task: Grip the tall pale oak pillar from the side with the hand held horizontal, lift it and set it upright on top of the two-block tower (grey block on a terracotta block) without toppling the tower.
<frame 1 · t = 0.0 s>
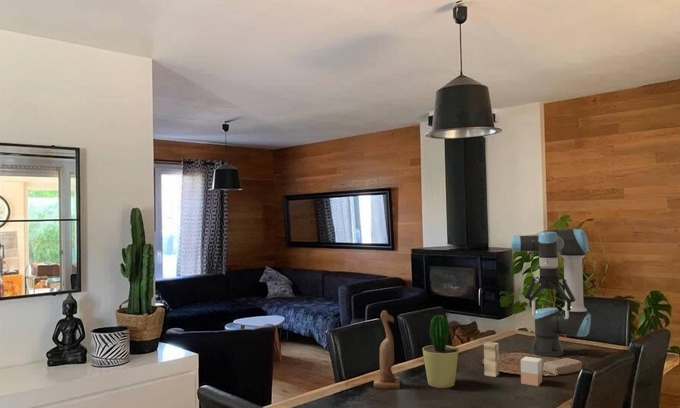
hand: (550, 316, 222), 28 cm above the table, tool pointing down, fingers open, 13 cm apart
bird sculpture: (386, 385, 221), on the table
tower base: (531, 382, 221), on the table, touching tower top
tower top: (531, 371, 221), point 5 cm above the table, touching tower base
potted cactus: (441, 384, 222), on the table
brick: (562, 372, 237), on the table
oak pillar: (491, 374, 233), on the table
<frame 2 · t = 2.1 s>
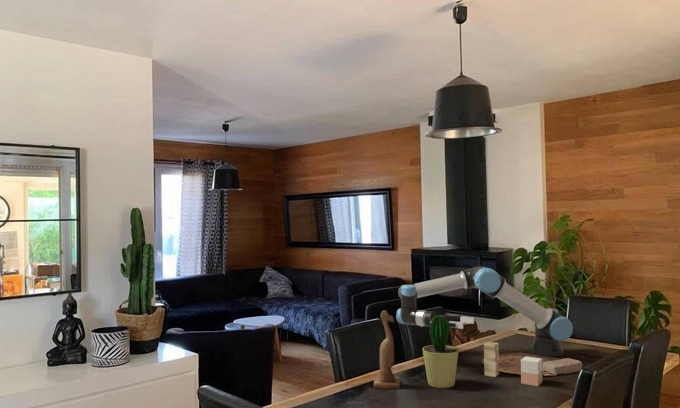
hand: (468, 323, 240), 22 cm above the table, tool horizontal, fingers open, 13 cm apart
nothing on the table moved.
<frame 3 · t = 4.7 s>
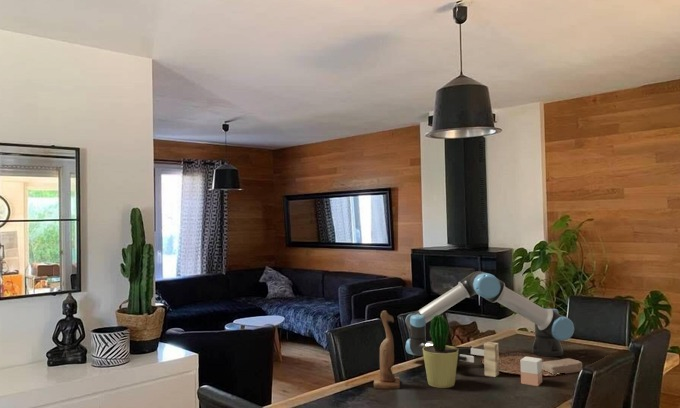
hand: (479, 356, 236), 8 cm above the table, tool horizontal, fingers open, 13 cm apart
nothing on the table moved.
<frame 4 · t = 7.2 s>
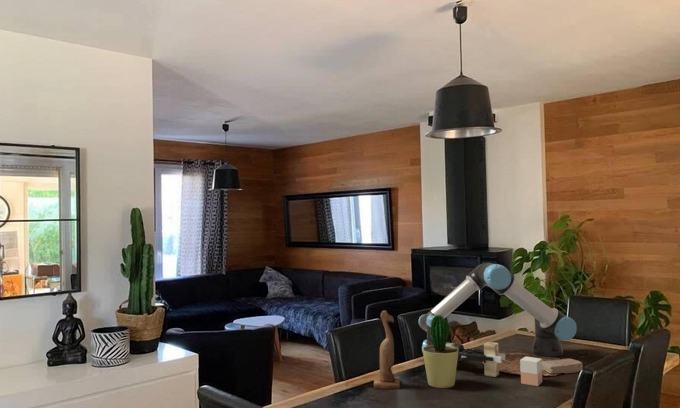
hand: (502, 358, 230), 8 cm above the table, tool horizontal, fingers closed on oak pillar, 5 cm apart
oak pillar: (491, 374, 233), on the table, touching gripper
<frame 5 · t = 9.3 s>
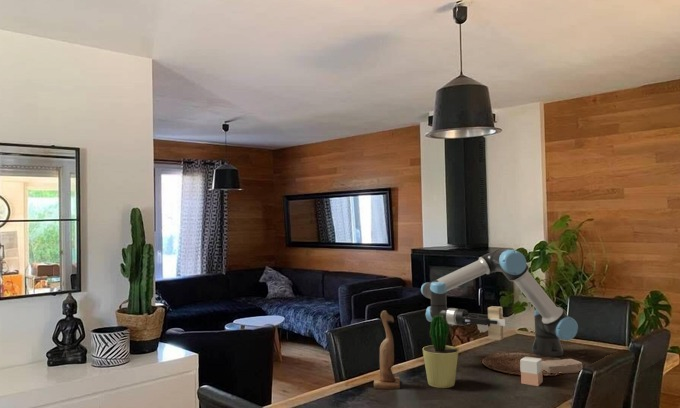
hand: (507, 321, 229), 25 cm above the table, tool horizontal, fingers closed on oak pillar, 5 cm apart
oak pillar: (496, 338, 232), point 17 cm above the table, touching gripper
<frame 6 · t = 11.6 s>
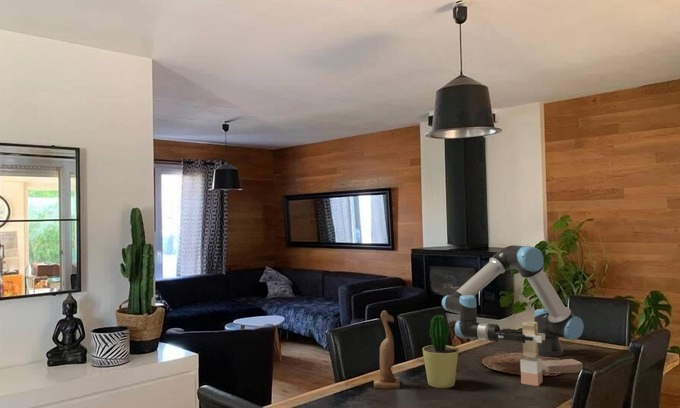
hand: (543, 338, 219), 19 cm above the table, tool horizontal, fingers closed on oak pillar, 5 cm apart
oak pillar: (530, 355, 222), point 11 cm above the table, touching gripper
when the fingers open (19 cm above the table, at t = 11.7 s): oak pillar drops 2 cm, resting on tower top.
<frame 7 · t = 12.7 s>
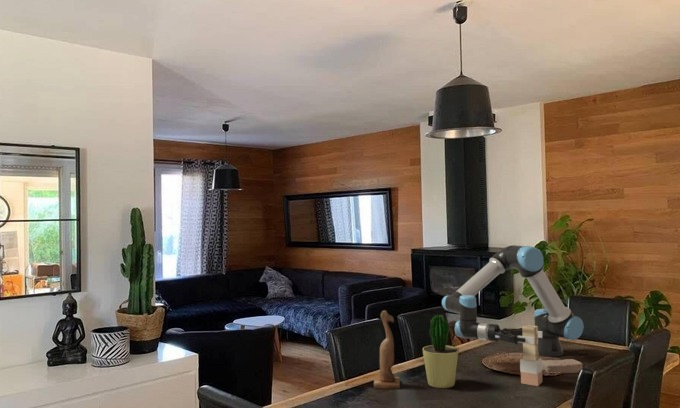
hand: (538, 337, 220), 19 cm above the table, tool horizontal, fingers open, 13 cm apart
tower top: (531, 370, 222), point 5 cm above the table, touching oak pillar, tower base
oak pillar: (530, 359, 222), point 10 cm above the table, touching tower top
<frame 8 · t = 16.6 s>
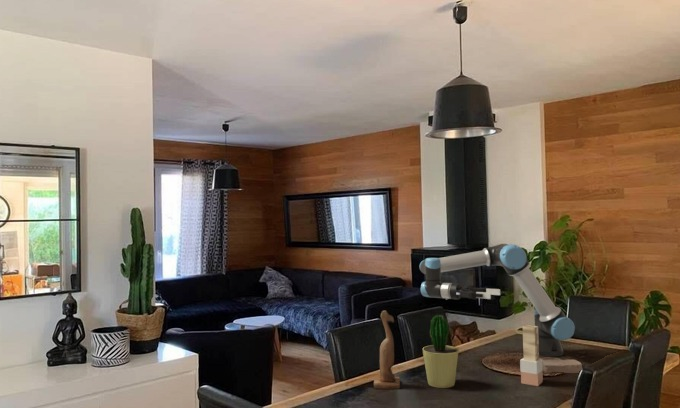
hand: (495, 294, 237), 36 cm above the table, tool horizontal, fingers open, 13 cm apart
at the end: oak pillar 0.1 cm off-centre on the tower top, point 5.0 cm above the tower top's base; oak pillar tilted 0°; tower top moved 0.2 cm from its start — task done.
